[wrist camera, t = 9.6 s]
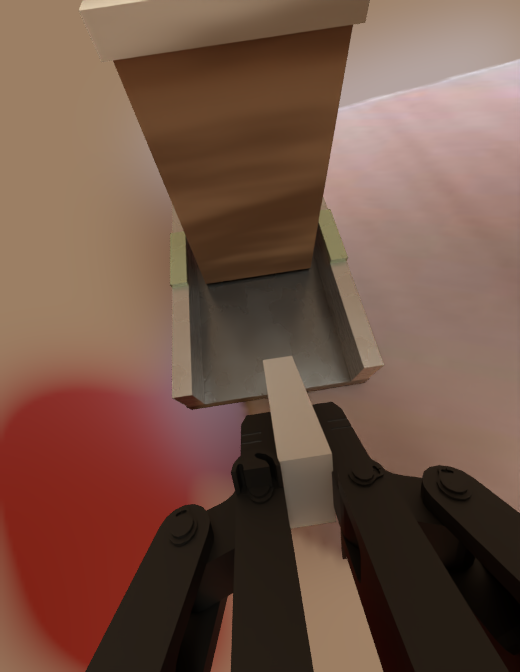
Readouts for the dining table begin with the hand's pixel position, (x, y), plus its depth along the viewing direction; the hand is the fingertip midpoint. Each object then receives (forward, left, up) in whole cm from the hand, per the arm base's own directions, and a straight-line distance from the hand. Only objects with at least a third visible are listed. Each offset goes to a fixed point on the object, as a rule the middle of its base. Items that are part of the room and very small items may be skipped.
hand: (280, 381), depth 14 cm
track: (-8, -7, -6) cm, 12 cm away
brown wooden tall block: (-9, -8, -5) cm, 13 cm away
